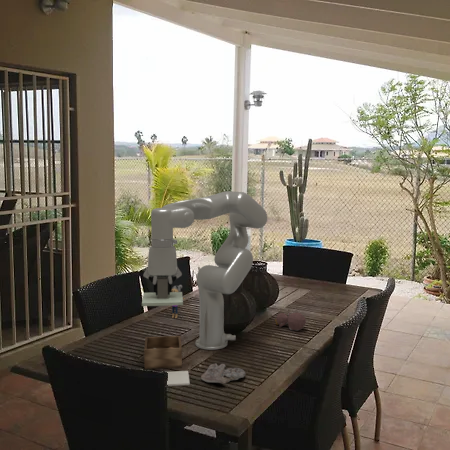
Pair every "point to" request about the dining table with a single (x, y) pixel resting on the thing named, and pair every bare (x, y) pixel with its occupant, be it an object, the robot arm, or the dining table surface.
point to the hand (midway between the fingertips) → (162, 293)
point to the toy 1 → (175, 289)
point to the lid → (162, 295)
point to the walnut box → (163, 352)
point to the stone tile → (178, 378)
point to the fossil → (222, 374)
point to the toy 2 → (291, 320)
